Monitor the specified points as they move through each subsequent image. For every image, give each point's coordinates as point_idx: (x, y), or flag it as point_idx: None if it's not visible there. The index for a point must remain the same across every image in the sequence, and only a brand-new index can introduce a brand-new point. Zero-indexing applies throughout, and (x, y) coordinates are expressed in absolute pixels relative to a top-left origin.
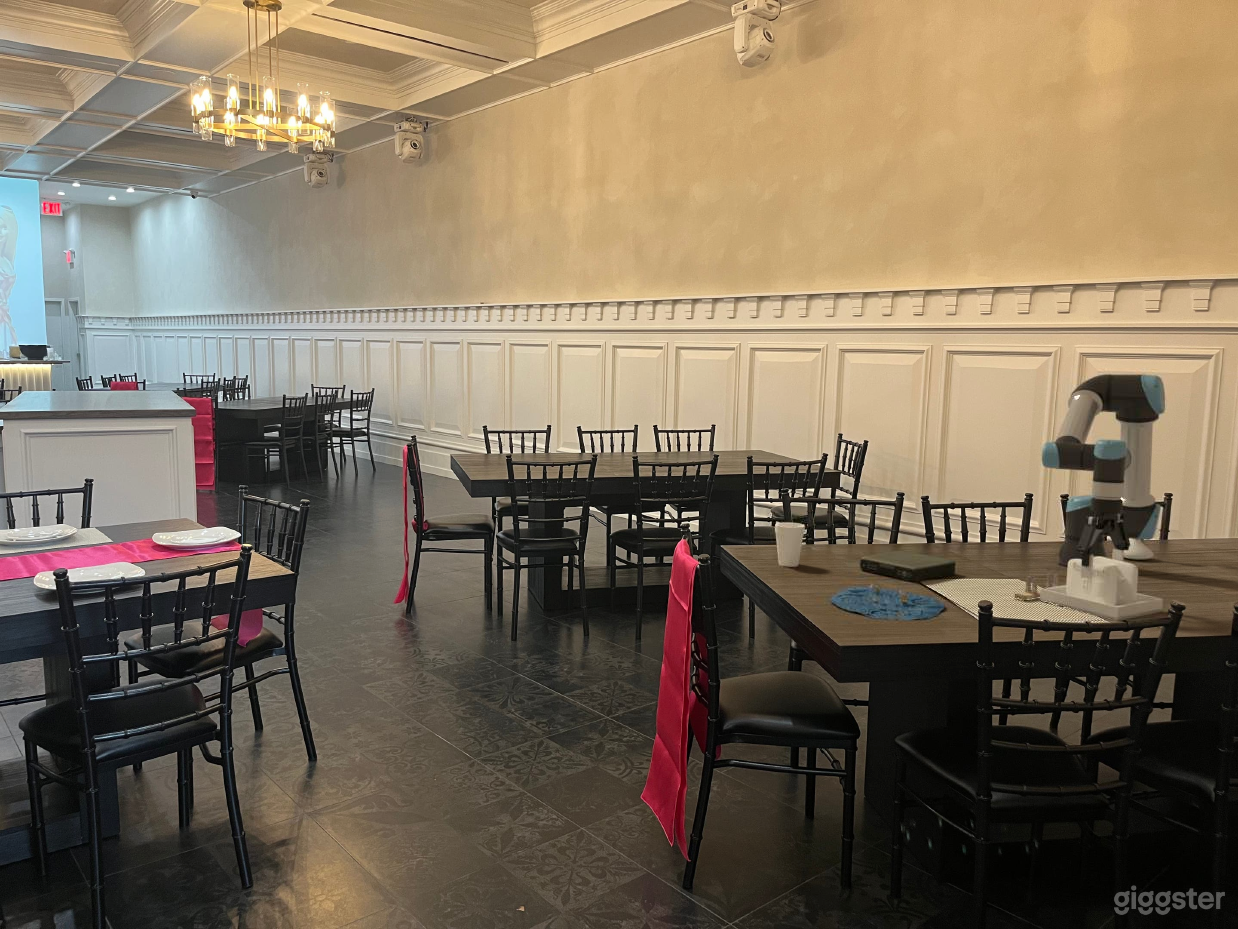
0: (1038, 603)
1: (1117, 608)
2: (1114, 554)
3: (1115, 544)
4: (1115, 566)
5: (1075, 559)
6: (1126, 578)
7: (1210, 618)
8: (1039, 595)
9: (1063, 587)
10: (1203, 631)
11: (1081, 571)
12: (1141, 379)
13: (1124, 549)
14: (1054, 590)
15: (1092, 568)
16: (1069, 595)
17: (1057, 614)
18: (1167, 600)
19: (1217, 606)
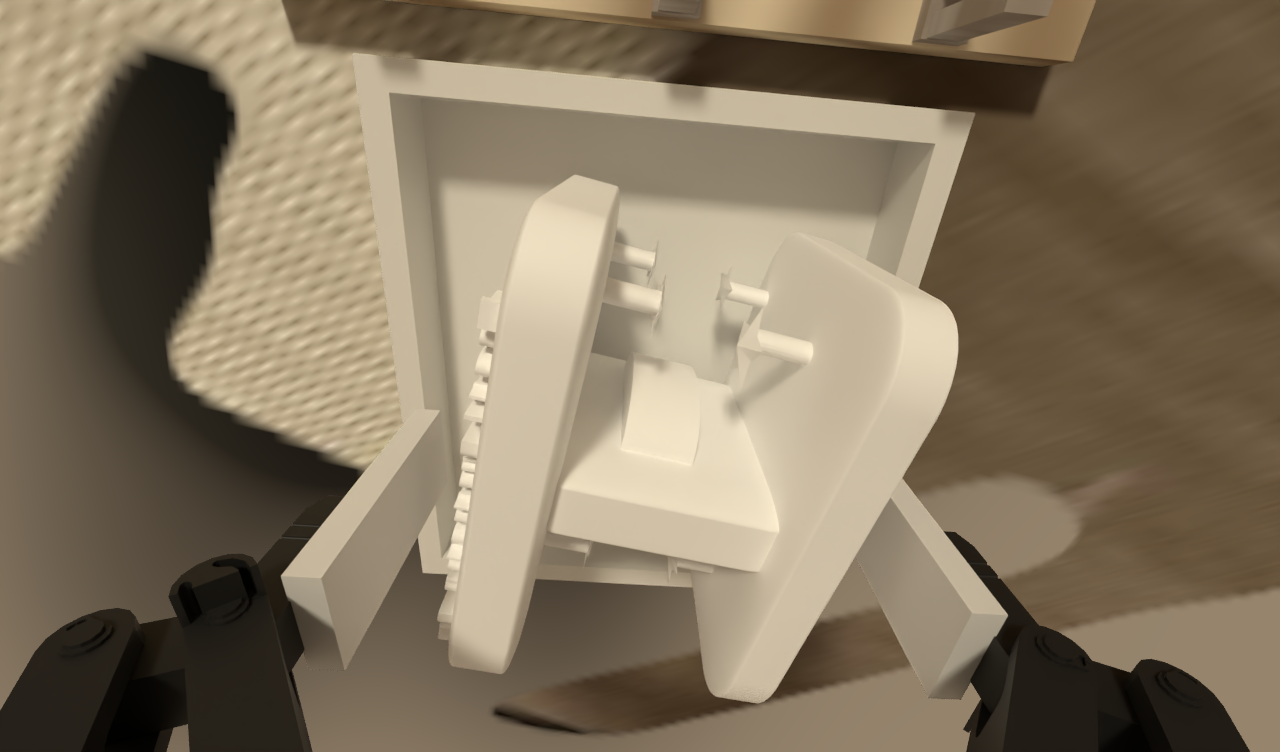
0: (348, 94)
1: (424, 567)
2: (927, 578)
3: (997, 707)
4: (743, 567)
5: (501, 329)
6: (707, 581)
7: (839, 659)
8: (457, 2)
9: (628, 114)
10: (613, 705)
11: (393, 439)
12: None
13: (974, 713)
14: (511, 104)
15: (407, 545)
16: (399, 310)
17: (253, 324)
18: (1086, 466)
19: (1100, 607)
